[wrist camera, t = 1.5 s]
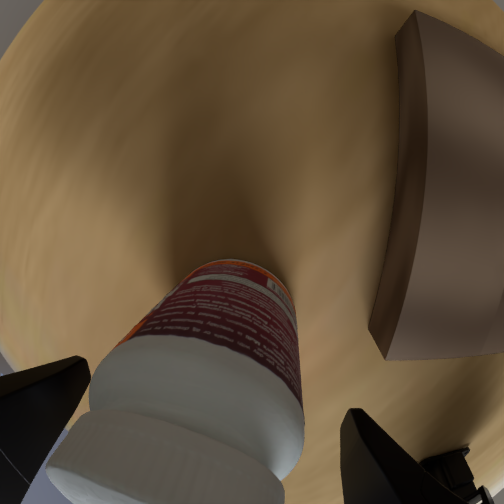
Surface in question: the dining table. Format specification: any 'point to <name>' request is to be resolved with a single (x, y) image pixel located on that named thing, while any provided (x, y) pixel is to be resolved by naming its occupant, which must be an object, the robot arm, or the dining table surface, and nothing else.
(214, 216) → the dining table surface
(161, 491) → the pill bottle
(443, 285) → the socket board
